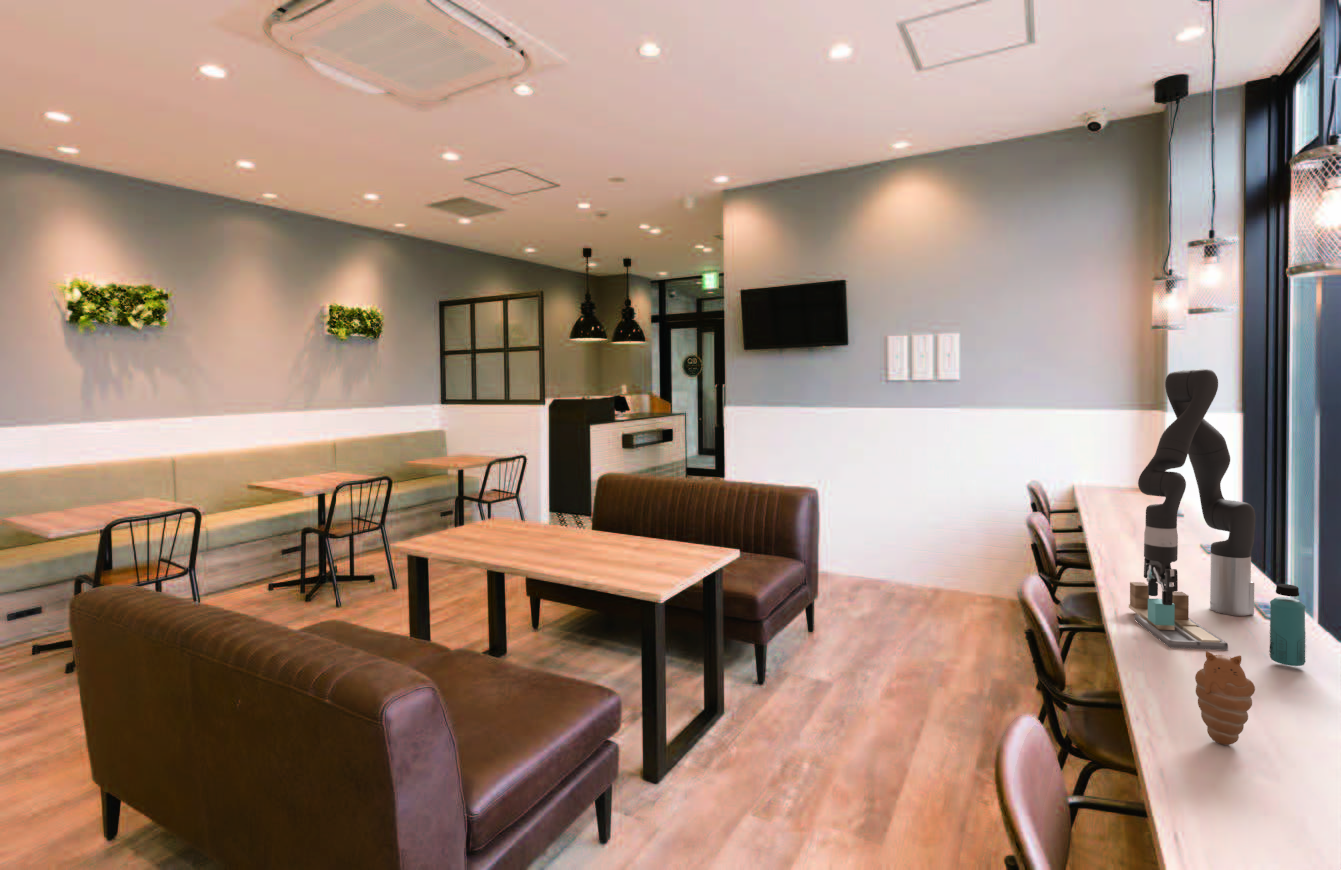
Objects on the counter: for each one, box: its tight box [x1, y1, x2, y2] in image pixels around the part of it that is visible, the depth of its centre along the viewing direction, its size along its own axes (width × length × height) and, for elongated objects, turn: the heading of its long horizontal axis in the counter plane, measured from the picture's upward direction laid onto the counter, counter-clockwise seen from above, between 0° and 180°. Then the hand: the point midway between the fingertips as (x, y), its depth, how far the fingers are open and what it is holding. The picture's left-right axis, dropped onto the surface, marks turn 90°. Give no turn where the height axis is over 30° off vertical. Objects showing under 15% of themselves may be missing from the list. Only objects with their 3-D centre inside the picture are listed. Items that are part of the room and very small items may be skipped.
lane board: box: [1134, 613, 1229, 651], centre depth 183 cm, size 13×21×2 cm, turn 166°
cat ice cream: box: [1194, 650, 1256, 746], centre depth 128 cm, size 9×8×18 cm
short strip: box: [1172, 591, 1197, 628], centre depth 188 cm, size 4×8×8 cm, turn 166°
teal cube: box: [1148, 598, 1175, 626], centre depth 186 cm, size 5×5×6 cm
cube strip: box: [1128, 581, 1175, 630], centre depth 193 cm, size 4×19×8 cm, turn 166°
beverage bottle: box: [1268, 583, 1307, 667], centre depth 160 cm, size 6×7×20 cm
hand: (1159, 600), depth 186 cm, fingers open, 8 cm apart
